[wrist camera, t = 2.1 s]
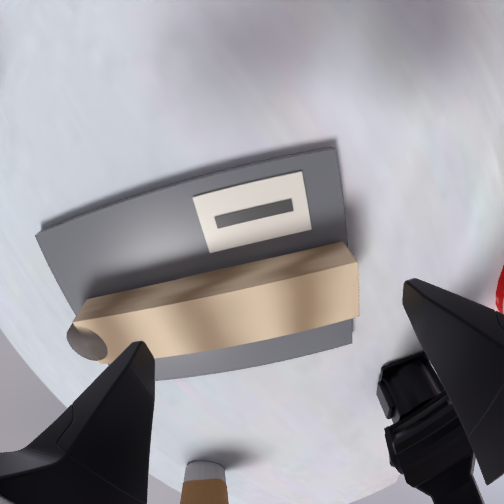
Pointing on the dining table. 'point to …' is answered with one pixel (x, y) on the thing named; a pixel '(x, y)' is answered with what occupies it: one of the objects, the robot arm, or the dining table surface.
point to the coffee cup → (204, 484)
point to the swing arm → (223, 306)
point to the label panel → (207, 245)
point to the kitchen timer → (500, 293)
